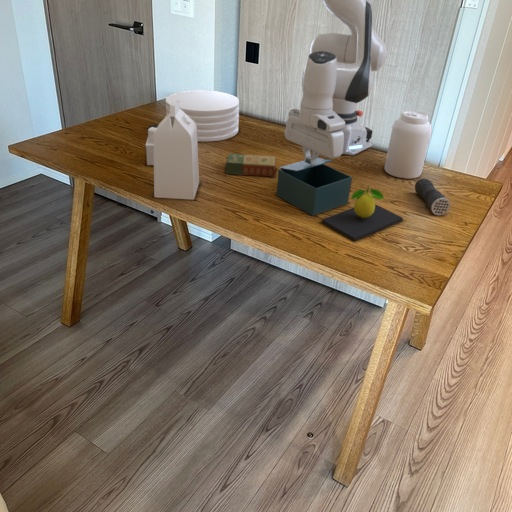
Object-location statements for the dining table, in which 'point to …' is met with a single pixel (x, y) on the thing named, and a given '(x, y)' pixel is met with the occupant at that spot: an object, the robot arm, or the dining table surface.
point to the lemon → (365, 202)
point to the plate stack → (209, 112)
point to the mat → (361, 222)
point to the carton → (250, 164)
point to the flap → (304, 165)
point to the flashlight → (432, 197)
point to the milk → (176, 156)
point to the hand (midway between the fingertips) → (309, 163)
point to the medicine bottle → (150, 144)
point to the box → (314, 188)
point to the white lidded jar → (408, 145)
